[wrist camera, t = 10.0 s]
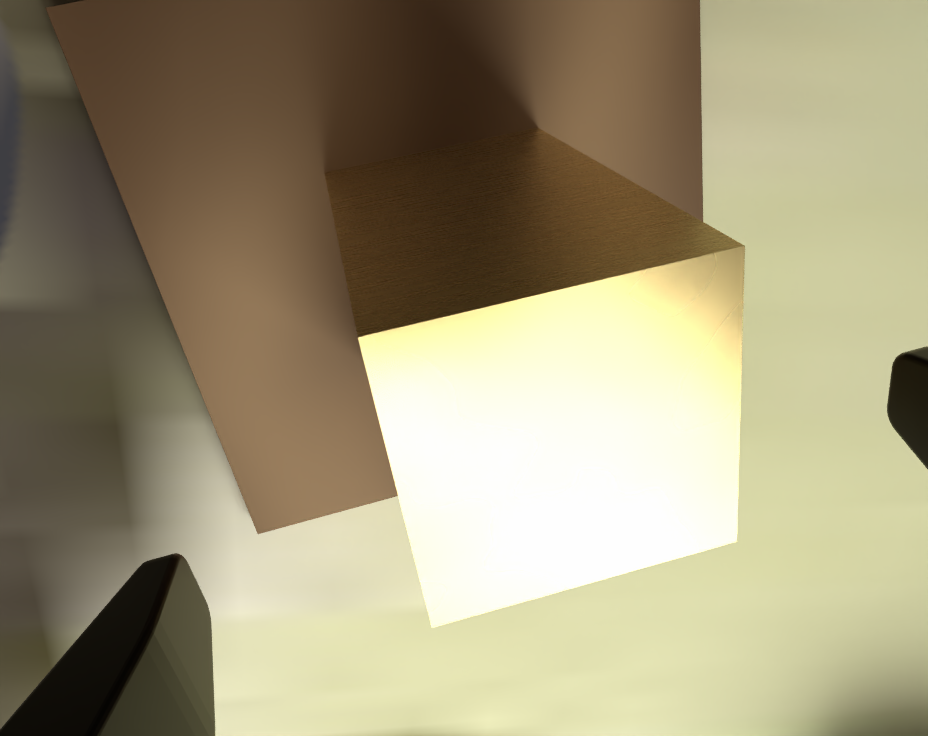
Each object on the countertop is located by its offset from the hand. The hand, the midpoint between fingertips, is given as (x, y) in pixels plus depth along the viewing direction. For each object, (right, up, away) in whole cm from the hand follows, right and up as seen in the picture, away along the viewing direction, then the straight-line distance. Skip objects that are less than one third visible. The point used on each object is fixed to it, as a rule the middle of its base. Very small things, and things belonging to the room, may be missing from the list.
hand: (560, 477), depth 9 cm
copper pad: (-2, +4, +8) cm, 9 cm away
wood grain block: (-1, +4, +7) cm, 8 cm away
